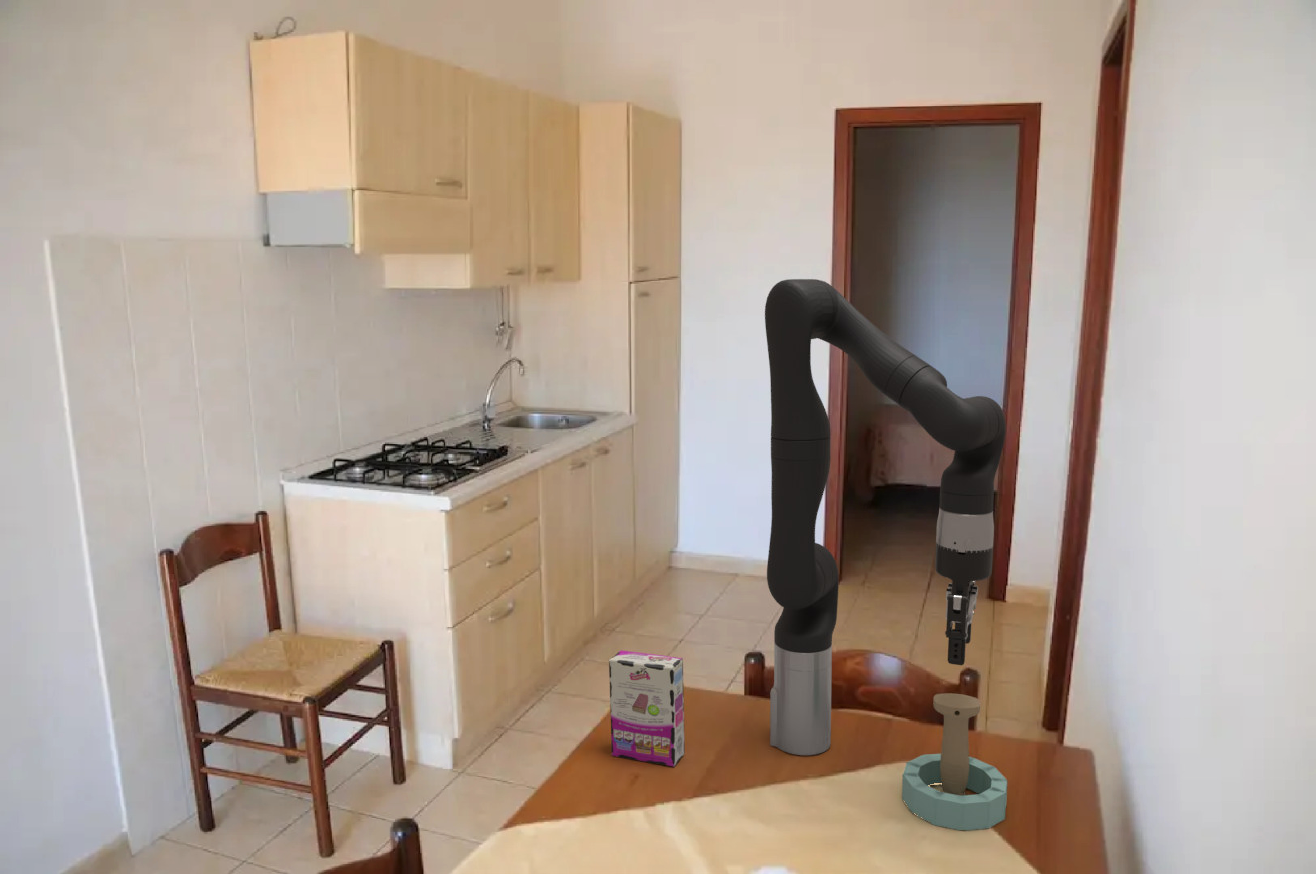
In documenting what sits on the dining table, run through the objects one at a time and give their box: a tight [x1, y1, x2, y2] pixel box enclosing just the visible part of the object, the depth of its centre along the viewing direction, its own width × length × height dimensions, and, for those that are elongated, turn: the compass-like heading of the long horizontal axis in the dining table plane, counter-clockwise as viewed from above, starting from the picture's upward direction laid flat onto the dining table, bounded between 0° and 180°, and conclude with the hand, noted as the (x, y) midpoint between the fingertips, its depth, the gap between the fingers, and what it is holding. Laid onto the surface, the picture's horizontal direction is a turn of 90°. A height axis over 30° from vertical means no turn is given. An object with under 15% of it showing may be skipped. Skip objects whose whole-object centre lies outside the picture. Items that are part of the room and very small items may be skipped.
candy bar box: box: [608, 649, 686, 767], centre depth 151 cm, size 11×5×16 cm, turn 68°
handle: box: [932, 692, 981, 796], centre depth 137 cm, size 5×6×15 cm
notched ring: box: [901, 752, 1008, 831], centre depth 137 cm, size 14×14×4 cm
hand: (959, 652), depth 133 cm, fingers open, 8 cm apart
